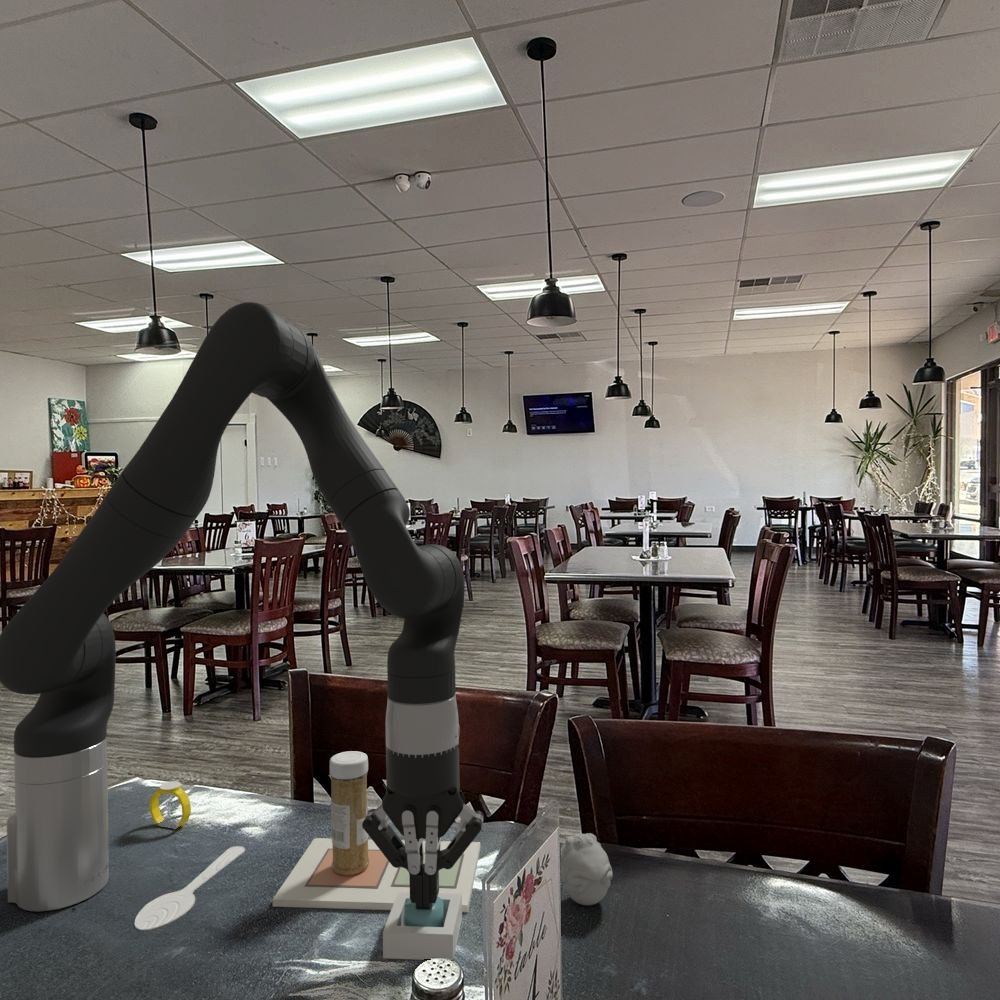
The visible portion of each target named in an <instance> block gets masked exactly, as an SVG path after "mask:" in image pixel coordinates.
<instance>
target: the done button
mask: <svg viewBox="0 0 1000 1000" xmlns="http://www.w3.org/2000/svg"><path fill="white" fill-rule="evenodd" d="M405 926H419V927H443V926H444V916H443V901H442V899H441V898H440V897H437V900H436V902H435V903H432V905H431V909H416V903H412V902H411V900H410V899H409V900H408V901H407V902H406V903H405Z"/></svg>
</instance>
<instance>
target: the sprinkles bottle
mask: <svg viewBox="0 0 1000 1000" xmlns="http://www.w3.org/2000/svg"><path fill="white" fill-rule="evenodd" d="M368 771H369V758H368V755H367V754H366V753H364V752H362V751H357V750H355V751H354V750H353V751H352V750H349V751H342V752H340V753H336V754H334V755H332V757H330V760H329V775H330V779H331V781H330V782H331V784H330V785H331V786H330V788H331V789H330V790H331V792H330V793H331V800H330V811H331V812H330V815H331V816H330V817H331V820H330V821H331V822H330V823H331V839H332V844H333V862H332V869H333V871H334V872H336V873H338V874H341V875H354V874H357V873H360V872H362V871H363V870H365V869H366V868H367V867H368V865H369V857H368V839H369V835H368V834H367V832H366V831H365V830H364V829H363V827H362V823H363V821H364V819H365V818H366V816H367V814H368V812H369V810H368V788H367V785H368V784H367V780H368V779H367V776H368Z"/></svg>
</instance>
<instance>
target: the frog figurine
mask: <svg viewBox="0 0 1000 1000" xmlns="http://www.w3.org/2000/svg"><path fill="white" fill-rule="evenodd" d="M560 850H561V876H560V881H561V883H563V887H564V889H565V890H566V892H567V894H568V895H569V897H570V898H571V899H572V900H573V901H574V902H576V903H577V904H579V905H583V906H593V905H596V904H598V903H599V902H600V901H602V899H604V897H605V896H606V894H607V891H608V889H609V888H610V887H611V880H612V879H613V876H614V875H613V874H614V873H613V868H612V866H611V864H610V861H609V857H608V854H607V853H606V851H605V850H604V848H603V847H602V845H601V843H600V842H598V841H597V836H596V835H594V834H593V833H591V832H589V833H588V832H587V833H576V834H574V835H573V836H572V835H570V836H567V837H566V840H565V841H564V843H563V845H562V847H561V848H560Z"/></svg>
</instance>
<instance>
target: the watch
mask: <svg viewBox="0 0 1000 1000" xmlns="http://www.w3.org/2000/svg"><path fill="white" fill-rule="evenodd" d="M162 794H163V795H170V794H173V795H174V796H175V797H176V798H177V799H178V802H179V803H180V805H181V814H182V815H181V817H180V821H179V822H178V823H179V824H178V825H177V826H176V827H177V828H178V827H180V826H181V825H183V824H184V825H185V824H186V823H187V822H188V821H189V819H190V816H191V812H192V807H191V801H190V798H189V796H188V795H187V792H186V791H184V789H182V783H181V782H180V781H175V780H171V781H167V782H166V781H165V782H164V783H162V784H160V785H159V788H158V789H157V790H156V791H154V792H153V794H152V796H151V797H150V800H149V812H150V815H151V816H150V817H151V818H152V821H153V823H154V824H156V823H160V822H162V821H163V820H164V819H165V818H164V816H163V815H162V813H161V809H160V805H159V803H160V796H161V795H162ZM184 825H183V826H184ZM181 827H182V826H181ZM181 827H180V828H181ZM178 829H179V828H178Z"/></svg>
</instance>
